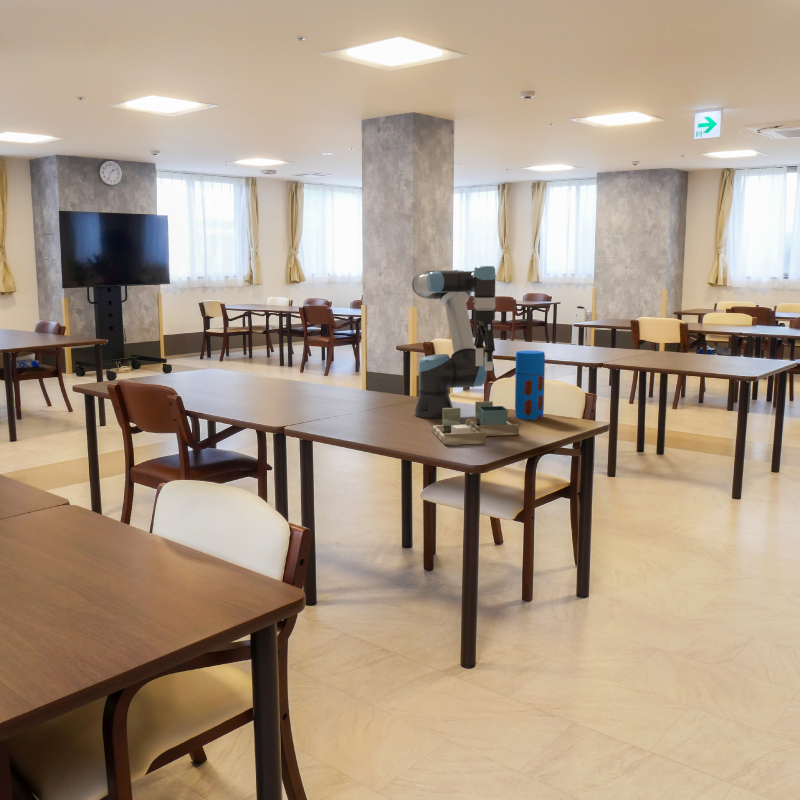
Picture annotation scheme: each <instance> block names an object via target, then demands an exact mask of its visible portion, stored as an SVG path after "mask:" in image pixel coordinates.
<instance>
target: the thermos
mask: <svg viewBox="0 0 800 800" xmlns="http://www.w3.org/2000/svg"><path fill="white" fill-rule="evenodd" d="M545 361H546V355H545V351H542V350H541V351H540V350H519V351H516V354H515V386H514V387H515V390H514V391H515V392H514V393H515V396H514V412H515V414H514V415H515V418H516V419H520V420H529V421H530V420H533V421H534V420H541V419H543V418H544V412H545V411H544V410H545V409H544V408H545V372H546V371H545V369H546V365H545V364H546V362H545Z"/></svg>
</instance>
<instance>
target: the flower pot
mask: <svg viewBox="0 0 800 800" xmlns="http://www.w3.org/2000/svg"><path fill="white" fill-rule="evenodd" d="M508 413H509V410H508V409H507V408H506V407H505V406H503V405H496V406H495V405H493V406H479V418H480V423H481V424H480V425H506V423H507V421H508V415H509V414H508Z"/></svg>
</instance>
